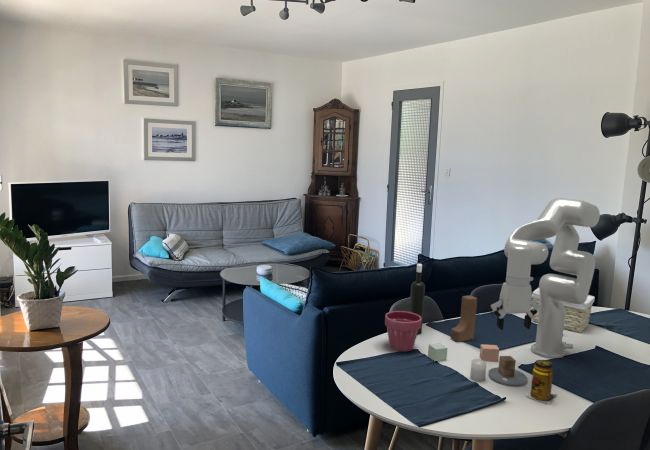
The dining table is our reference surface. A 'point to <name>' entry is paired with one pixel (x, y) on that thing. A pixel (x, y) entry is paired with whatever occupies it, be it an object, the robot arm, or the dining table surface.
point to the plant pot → (402, 329)
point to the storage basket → (570, 313)
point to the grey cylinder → (478, 370)
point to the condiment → (542, 382)
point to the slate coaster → (508, 378)
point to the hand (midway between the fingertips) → (513, 328)
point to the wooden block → (466, 320)
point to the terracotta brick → (489, 352)
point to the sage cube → (437, 352)
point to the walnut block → (507, 366)
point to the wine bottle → (417, 296)
